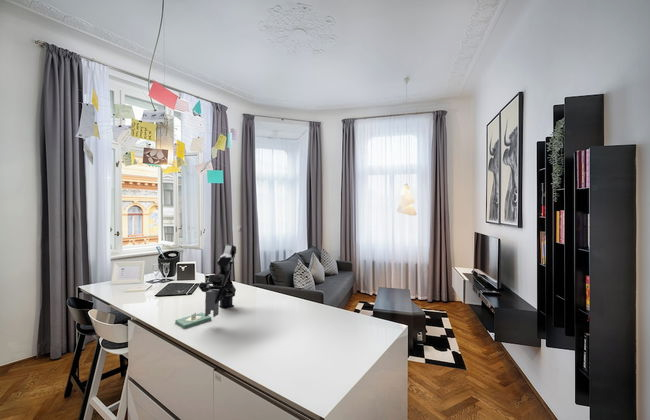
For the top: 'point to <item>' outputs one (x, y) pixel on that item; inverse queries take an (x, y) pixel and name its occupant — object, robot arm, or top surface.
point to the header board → (192, 320)
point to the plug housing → (211, 302)
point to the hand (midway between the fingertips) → (210, 303)
